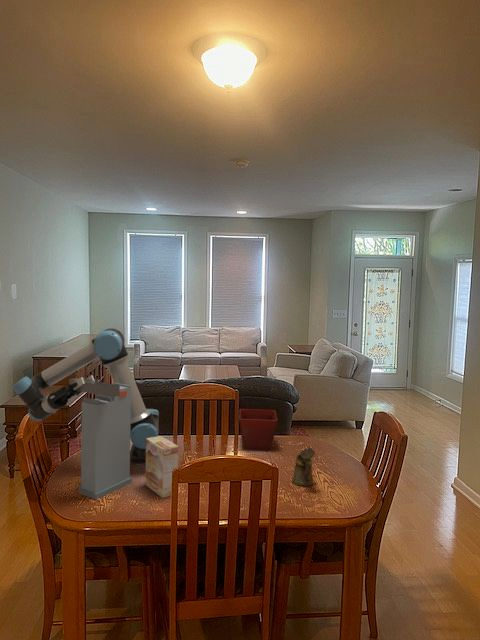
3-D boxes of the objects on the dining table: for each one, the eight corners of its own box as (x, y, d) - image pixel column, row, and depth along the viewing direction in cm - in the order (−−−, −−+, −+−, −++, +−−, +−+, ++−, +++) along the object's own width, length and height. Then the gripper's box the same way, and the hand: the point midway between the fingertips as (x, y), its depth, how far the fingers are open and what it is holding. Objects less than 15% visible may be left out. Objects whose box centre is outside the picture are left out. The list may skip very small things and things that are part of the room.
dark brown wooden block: (69, 389, 186) (69, 378, 185) (77, 387, 189) (77, 377, 189) (111, 397, 173) (111, 386, 173) (119, 395, 177) (119, 384, 176)
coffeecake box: (144, 484, 190) (145, 438, 189) (160, 480, 195) (161, 435, 193) (161, 498, 179) (162, 448, 177) (178, 493, 183) (179, 445, 182)
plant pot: (276, 453, 232) (277, 420, 231) (238, 451, 232) (239, 418, 231) (274, 440, 251) (275, 409, 250) (238, 439, 251) (239, 408, 250)
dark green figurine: (295, 491, 188) (297, 448, 187) (290, 477, 202) (292, 437, 201) (317, 491, 189) (319, 448, 188) (310, 477, 202) (312, 437, 201)
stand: (78, 492, 181) (78, 390, 178) (115, 476, 197) (116, 382, 194) (95, 499, 176) (96, 393, 173) (132, 482, 192) (133, 385, 189)
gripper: (75, 405, 200) (108, 384, 189) (39, 414, 186) (72, 392, 174) (69, 389, 202) (101, 367, 191) (33, 396, 187) (66, 373, 176)
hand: (87, 379), depth 182 cm, fingers closed on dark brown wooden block, 4 cm apart
